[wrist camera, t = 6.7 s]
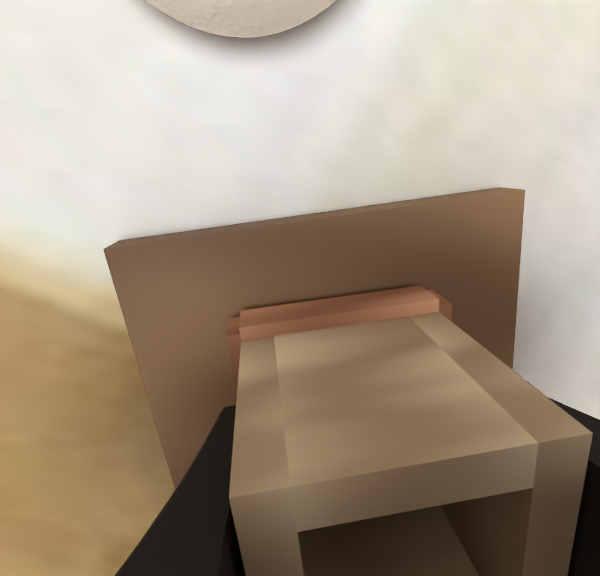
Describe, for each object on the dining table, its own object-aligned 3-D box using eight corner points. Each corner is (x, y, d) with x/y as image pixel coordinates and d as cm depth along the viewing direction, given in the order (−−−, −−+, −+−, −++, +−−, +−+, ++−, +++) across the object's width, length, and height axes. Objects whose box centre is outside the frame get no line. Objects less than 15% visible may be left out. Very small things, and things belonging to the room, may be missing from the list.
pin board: (478, 608, 15) (550, 751, 12) (238, 660, 15) (231, 830, 11) (499, 187, 10) (647, 200, 6) (118, 240, 9) (24, 292, 6)
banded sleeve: (431, 283, 9) (620, 408, 4) (430, 447, 11) (568, 667, 6) (227, 312, 9) (196, 481, 4) (257, 478, 10) (260, 736, 6)
